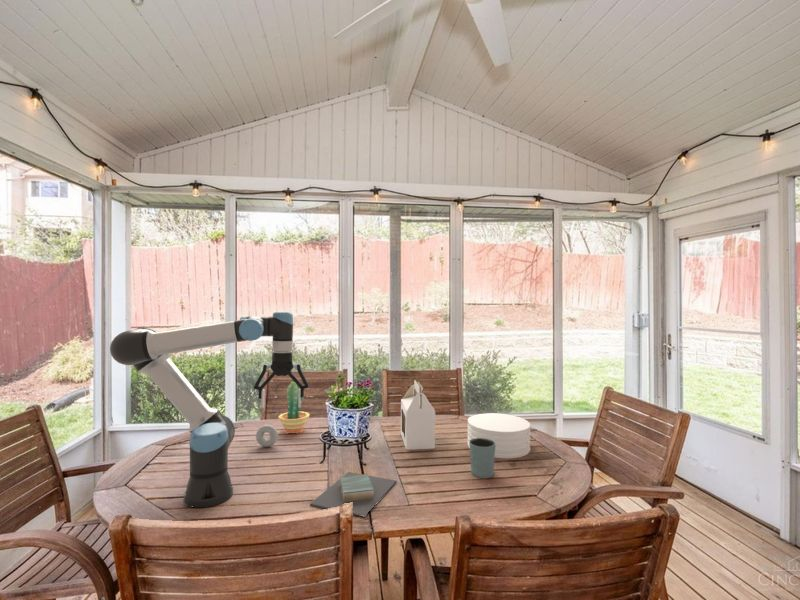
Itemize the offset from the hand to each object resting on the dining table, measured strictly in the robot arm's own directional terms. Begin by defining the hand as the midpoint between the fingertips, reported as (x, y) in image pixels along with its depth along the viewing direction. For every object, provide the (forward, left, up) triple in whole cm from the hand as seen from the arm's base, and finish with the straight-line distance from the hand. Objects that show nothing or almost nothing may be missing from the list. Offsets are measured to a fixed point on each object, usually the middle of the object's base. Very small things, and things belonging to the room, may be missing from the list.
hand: (281, 406), depth 155 cm
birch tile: (+1, -31, -24) cm, 39 cm away
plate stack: (+61, -74, -26) cm, 100 cm away
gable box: (+54, -37, -26) cm, 70 cm away
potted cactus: (+44, +26, -26) cm, 57 cm away
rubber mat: (-3, -34, -26) cm, 43 cm away
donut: (+21, +24, -26) cm, 41 cm away
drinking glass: (+30, -72, -26) cm, 82 cm away
